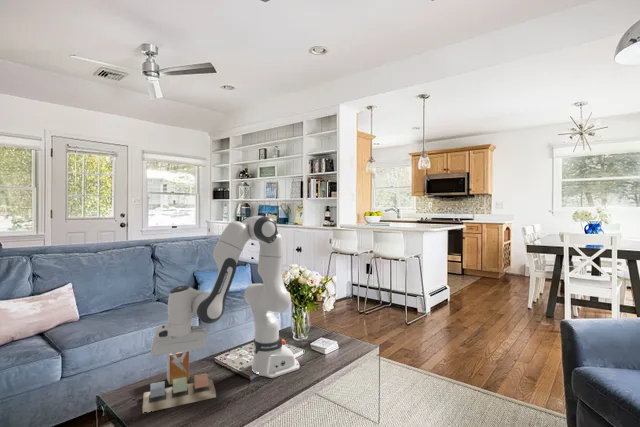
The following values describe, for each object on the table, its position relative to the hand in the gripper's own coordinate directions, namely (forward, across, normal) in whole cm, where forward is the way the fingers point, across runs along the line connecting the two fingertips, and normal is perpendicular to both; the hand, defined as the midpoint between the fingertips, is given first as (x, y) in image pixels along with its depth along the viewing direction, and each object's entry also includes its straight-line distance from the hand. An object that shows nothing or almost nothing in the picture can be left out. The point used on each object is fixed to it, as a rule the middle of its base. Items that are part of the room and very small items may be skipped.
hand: (179, 362), depth 136 cm
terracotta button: (+10, -8, 0) cm, 13 cm away
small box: (+14, 0, -15) cm, 21 cm away
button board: (+14, 0, 0) cm, 14 cm away
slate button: (+11, +8, 0) cm, 13 cm away
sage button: (+11, 0, 0) cm, 11 cm away
